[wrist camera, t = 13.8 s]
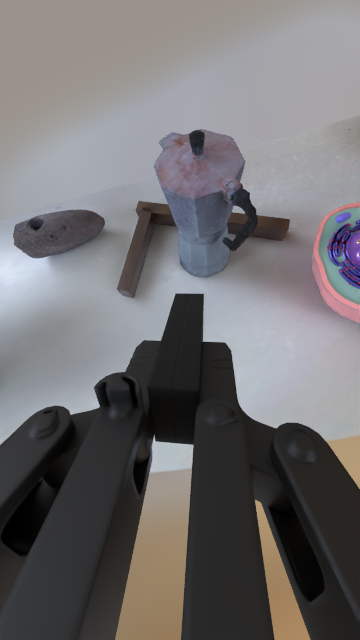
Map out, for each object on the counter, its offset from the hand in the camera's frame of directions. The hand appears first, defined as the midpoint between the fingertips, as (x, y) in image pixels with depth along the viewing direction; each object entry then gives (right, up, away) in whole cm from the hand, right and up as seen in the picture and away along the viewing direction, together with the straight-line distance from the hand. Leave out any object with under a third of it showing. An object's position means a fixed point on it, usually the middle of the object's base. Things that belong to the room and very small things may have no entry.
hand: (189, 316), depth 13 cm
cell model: (+27, +5, +23) cm, 36 cm away
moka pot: (+4, +11, +27) cm, 30 cm away
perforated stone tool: (-21, +15, +31) cm, 40 cm away
